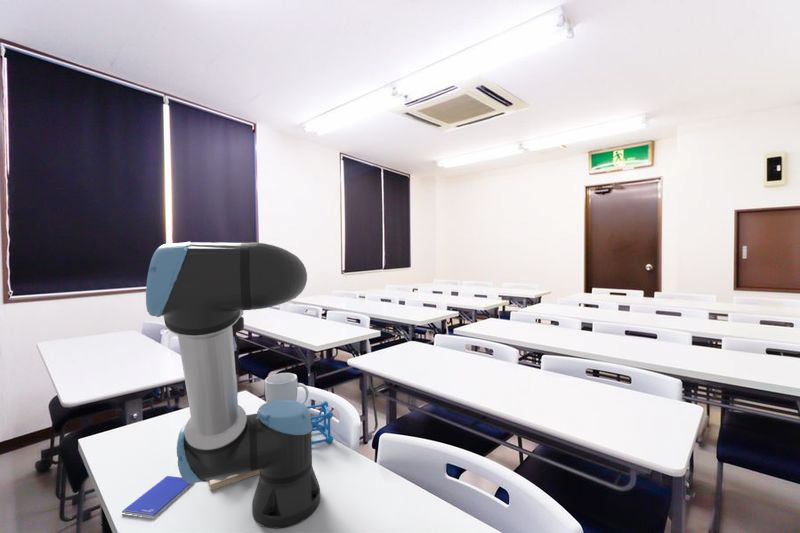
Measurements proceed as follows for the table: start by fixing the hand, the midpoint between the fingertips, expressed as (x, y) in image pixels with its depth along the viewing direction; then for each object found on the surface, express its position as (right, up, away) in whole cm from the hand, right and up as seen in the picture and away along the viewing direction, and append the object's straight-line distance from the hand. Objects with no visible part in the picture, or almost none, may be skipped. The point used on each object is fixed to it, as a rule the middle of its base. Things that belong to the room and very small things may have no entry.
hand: (232, 396), depth 106 cm
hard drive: (-8, -18, -20) cm, 28 cm away
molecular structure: (+23, -16, +6) cm, 29 cm away
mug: (+8, -15, +23) cm, 29 cm away
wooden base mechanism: (+1, -16, -5) cm, 17 cm away
